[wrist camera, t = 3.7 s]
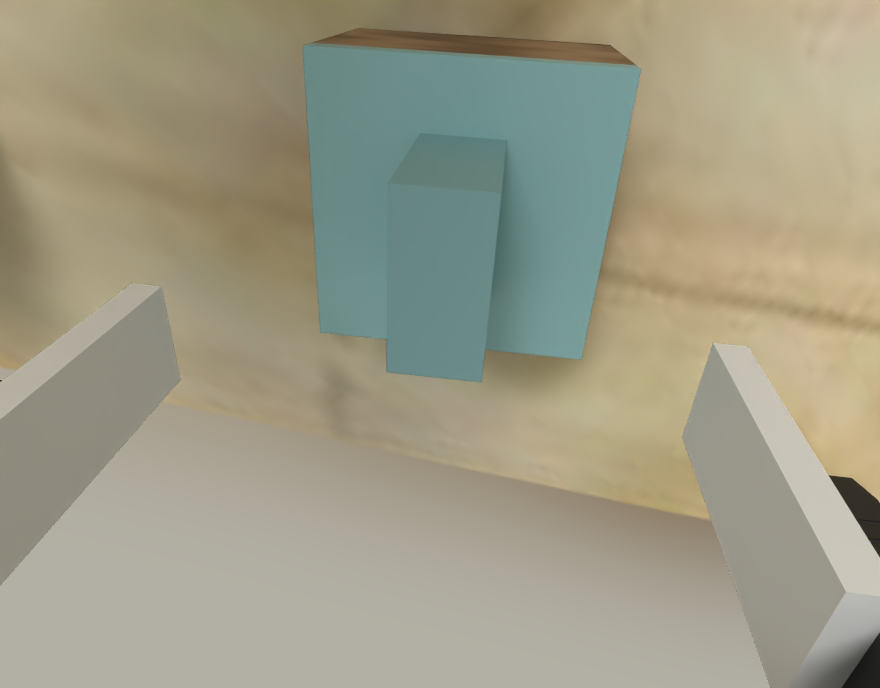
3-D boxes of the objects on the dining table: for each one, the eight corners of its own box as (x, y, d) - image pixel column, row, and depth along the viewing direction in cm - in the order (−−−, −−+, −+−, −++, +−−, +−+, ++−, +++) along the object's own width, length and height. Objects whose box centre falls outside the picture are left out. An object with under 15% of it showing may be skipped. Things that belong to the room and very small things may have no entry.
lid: (336, 304, 28) (270, 420, 21) (324, 38, 22) (227, 69, 15) (576, 328, 27) (596, 457, 20) (628, 59, 21) (684, 102, 14)
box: (362, 258, 33) (326, 321, 27) (358, 28, 27) (311, 42, 21) (568, 277, 32) (579, 347, 26) (610, 45, 26) (636, 65, 20)
